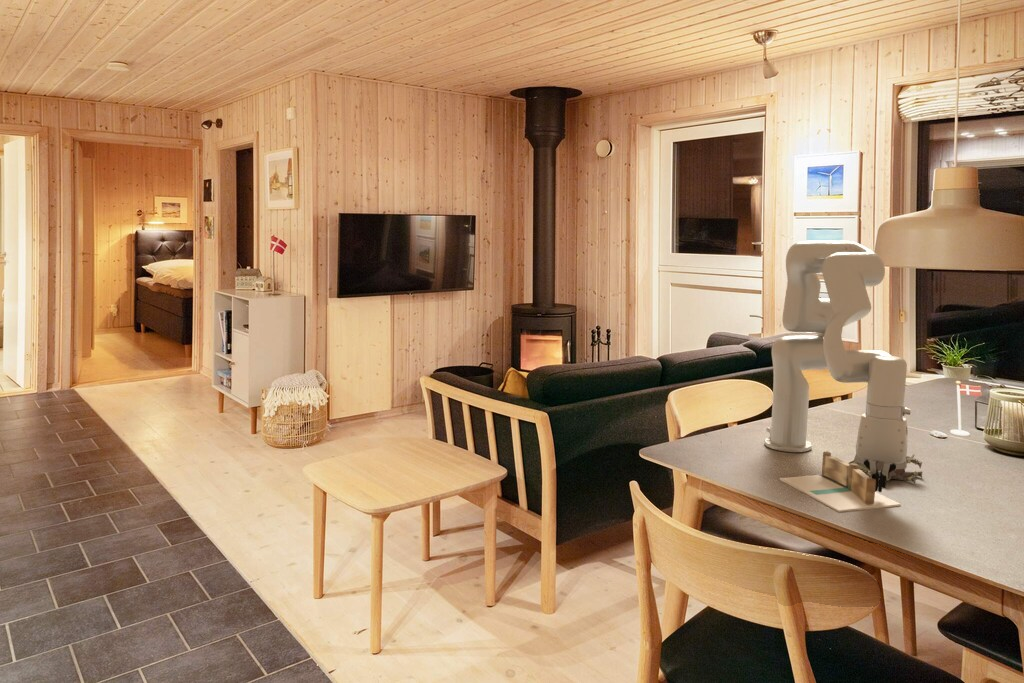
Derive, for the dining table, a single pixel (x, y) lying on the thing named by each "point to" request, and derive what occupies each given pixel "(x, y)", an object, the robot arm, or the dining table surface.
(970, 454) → the dining table surface
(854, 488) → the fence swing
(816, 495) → the card
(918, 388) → the dining table surface
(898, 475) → the figurine
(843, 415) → the dining table surface
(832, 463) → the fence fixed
